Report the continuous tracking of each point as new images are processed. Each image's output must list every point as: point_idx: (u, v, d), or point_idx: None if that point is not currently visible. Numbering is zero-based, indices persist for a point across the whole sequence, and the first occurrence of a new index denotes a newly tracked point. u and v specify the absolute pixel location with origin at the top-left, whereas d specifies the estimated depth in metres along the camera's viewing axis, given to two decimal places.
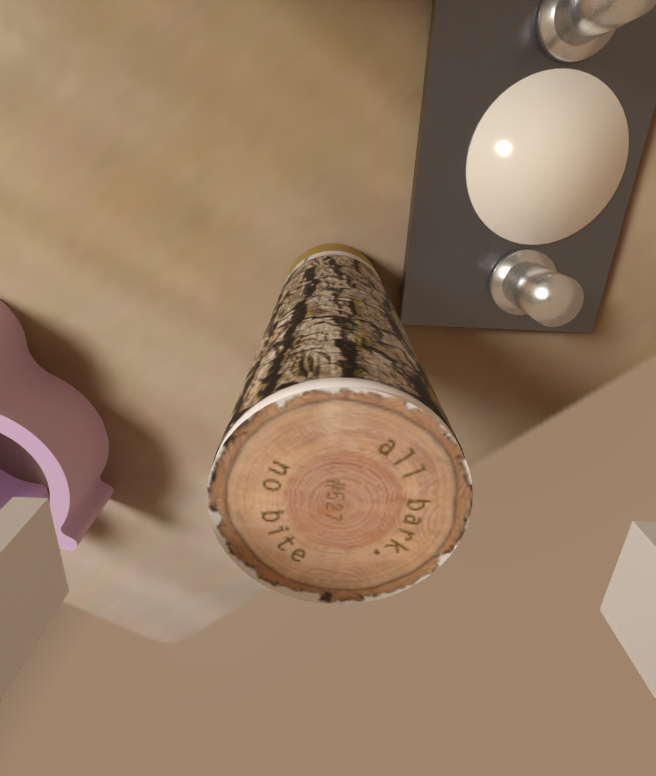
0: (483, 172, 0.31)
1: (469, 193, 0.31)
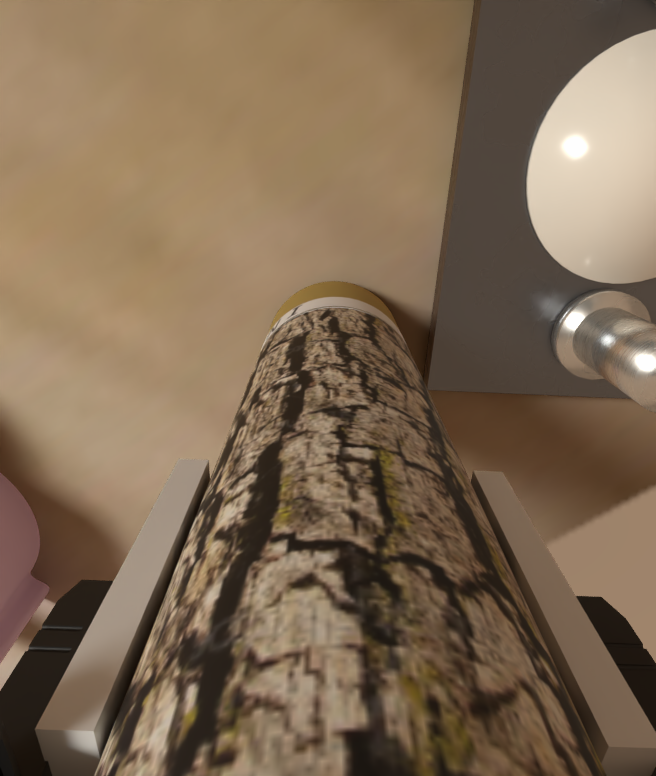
0: (552, 182, 0.21)
1: (530, 212, 0.22)
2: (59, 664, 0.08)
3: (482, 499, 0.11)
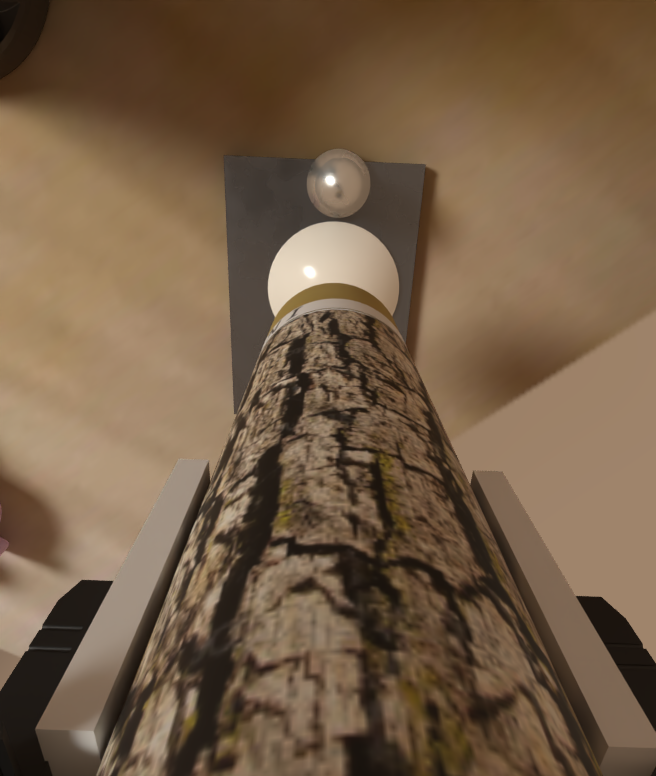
0: (282, 298, 0.37)
1: (274, 314, 0.38)
2: (59, 664, 0.08)
3: (483, 499, 0.11)
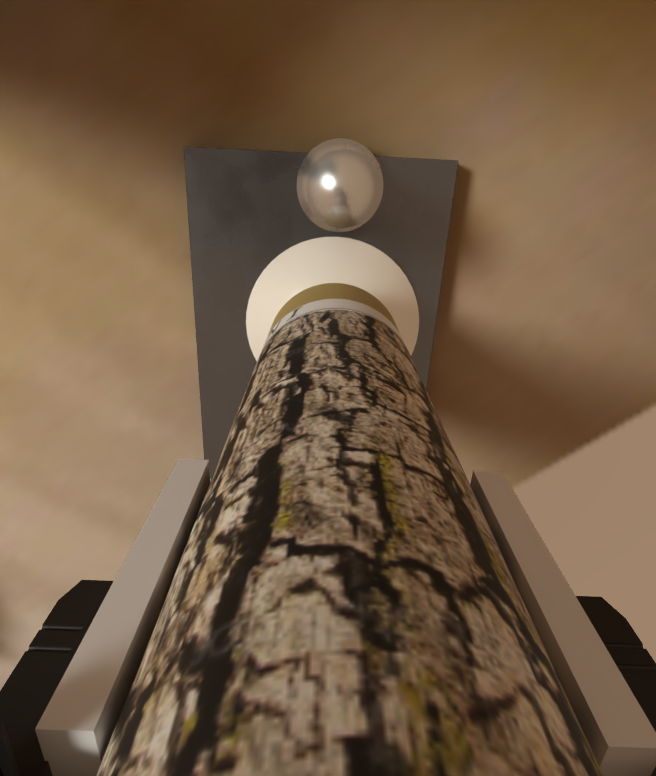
0: (265, 336, 0.28)
1: (254, 356, 0.29)
2: (59, 664, 0.08)
3: (483, 498, 0.11)
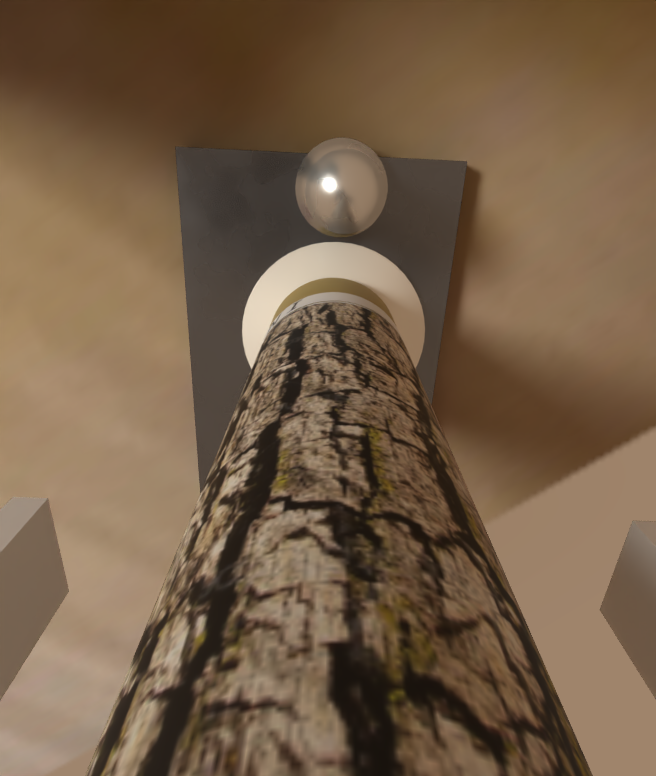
0: None
1: (251, 367, 0.27)
2: None
3: None
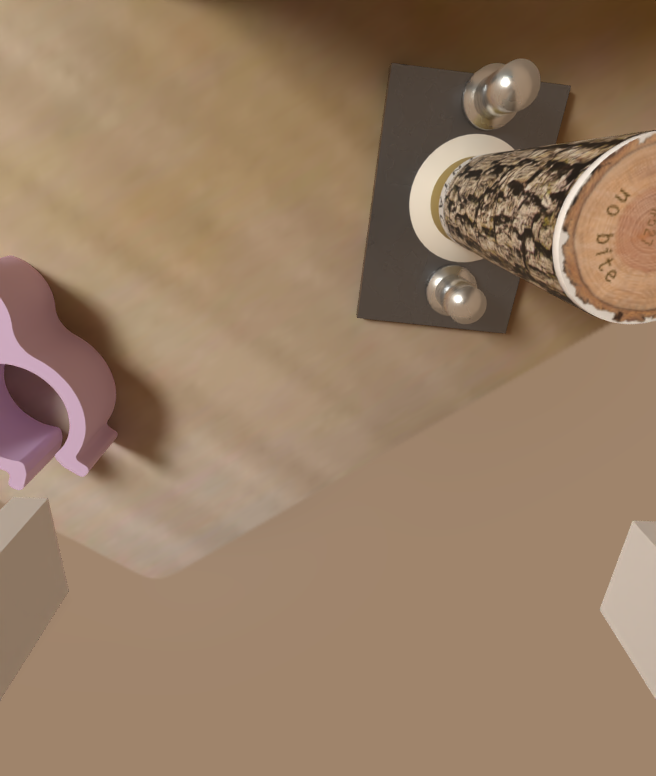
0: (422, 205, 0.41)
1: (411, 220, 0.41)
2: None
3: None
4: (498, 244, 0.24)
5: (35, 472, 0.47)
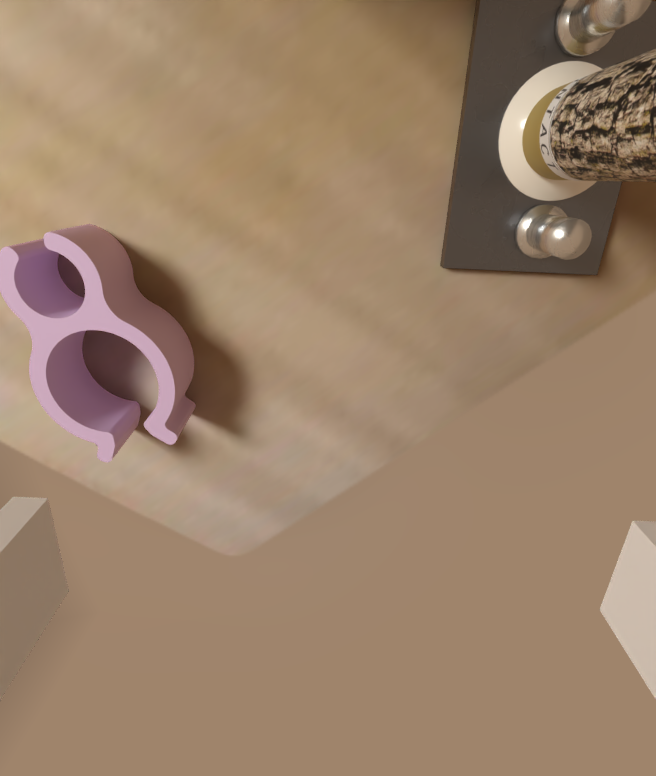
0: (512, 142, 0.39)
1: (501, 159, 0.40)
2: None
3: None
4: None
5: (120, 445, 0.47)
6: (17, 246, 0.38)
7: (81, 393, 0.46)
